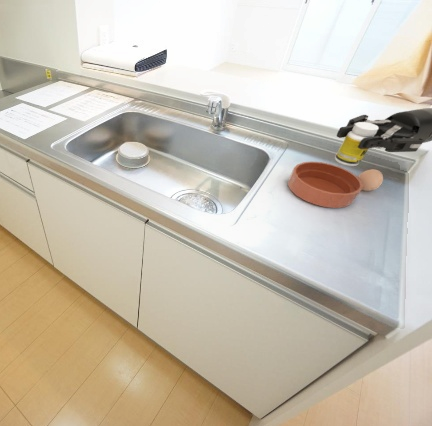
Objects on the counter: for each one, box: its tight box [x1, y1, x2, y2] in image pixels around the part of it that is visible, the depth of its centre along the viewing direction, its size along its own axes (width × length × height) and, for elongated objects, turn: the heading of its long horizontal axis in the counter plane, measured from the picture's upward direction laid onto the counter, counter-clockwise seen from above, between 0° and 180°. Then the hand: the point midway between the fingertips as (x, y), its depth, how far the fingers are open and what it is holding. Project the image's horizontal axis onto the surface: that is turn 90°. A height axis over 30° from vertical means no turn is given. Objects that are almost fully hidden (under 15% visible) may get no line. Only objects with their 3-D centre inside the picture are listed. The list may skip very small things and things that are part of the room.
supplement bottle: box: [334, 122, 379, 167], centre depth 61 cm, size 5×5×8 cm
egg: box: [357, 168, 384, 192], centre depth 73 cm, size 5×5×6 cm
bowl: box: [287, 161, 363, 209], centre depth 74 cm, size 15×15×4 cm
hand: (350, 138), depth 59 cm, fingers closed on supplement bottle, 4 cm apart
